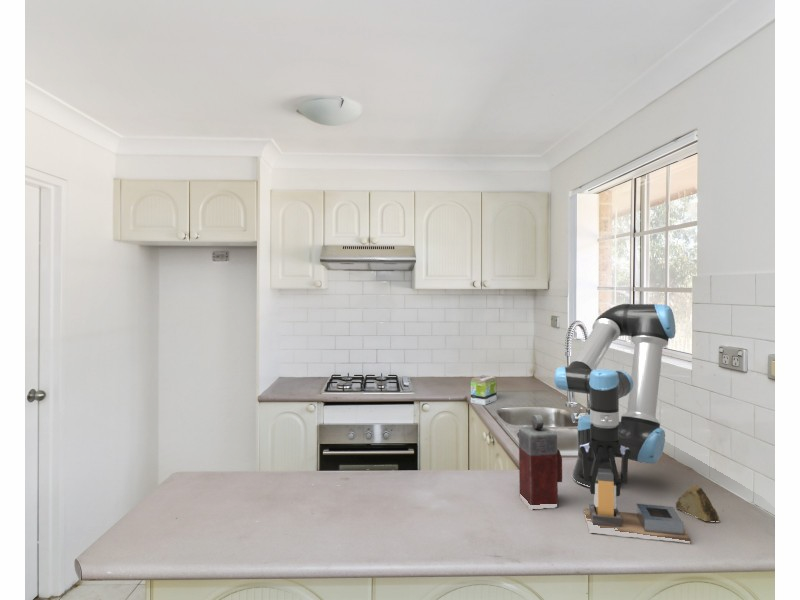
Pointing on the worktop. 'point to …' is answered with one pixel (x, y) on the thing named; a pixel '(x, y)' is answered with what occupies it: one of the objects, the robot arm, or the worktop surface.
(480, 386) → the tea box
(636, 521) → the board
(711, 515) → the rock
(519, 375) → the worktop surface
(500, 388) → the worktop surface
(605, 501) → the plug
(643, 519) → the port
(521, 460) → the red rectangular canister
